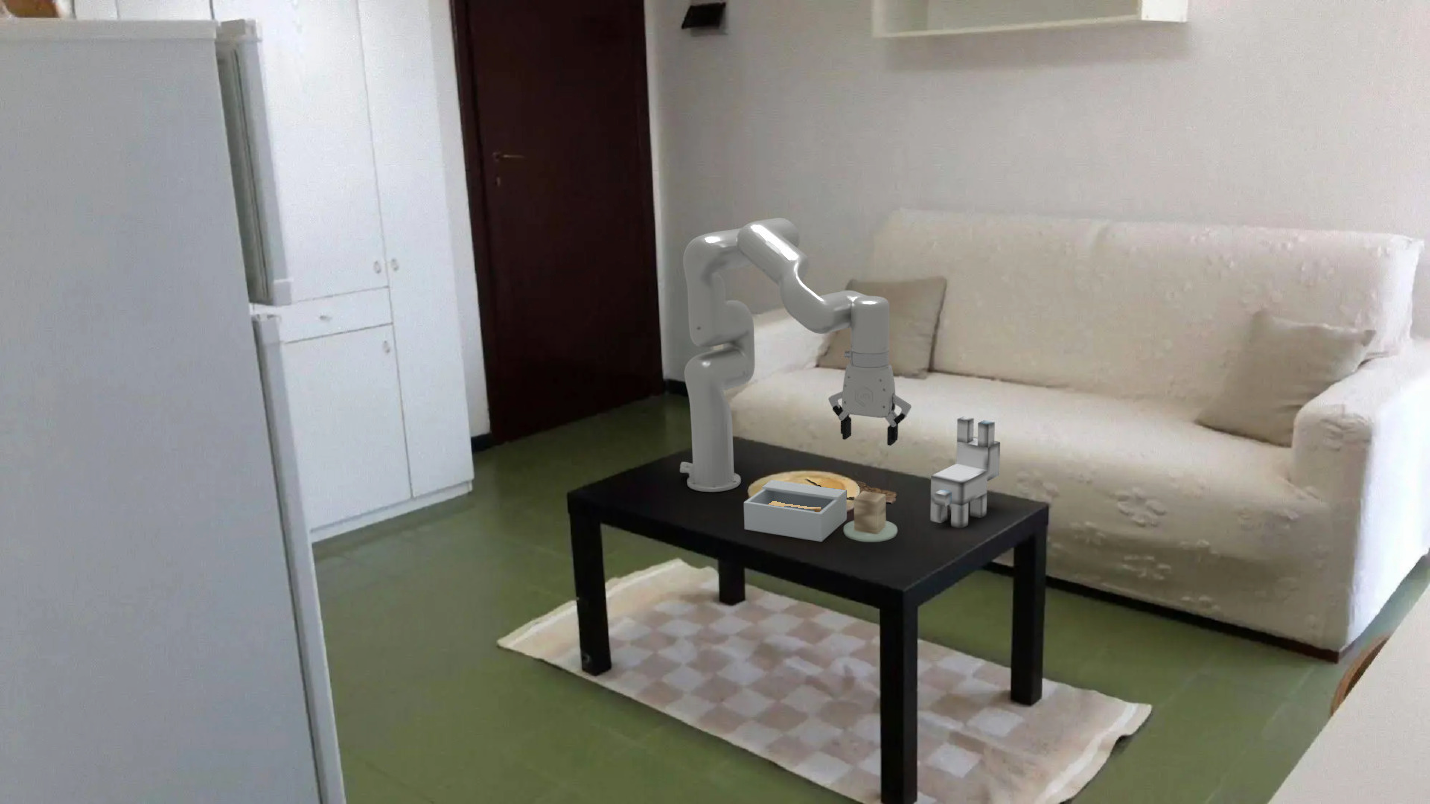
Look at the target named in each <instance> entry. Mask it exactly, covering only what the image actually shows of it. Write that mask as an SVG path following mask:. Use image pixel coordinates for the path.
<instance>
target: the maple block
mask: <svg viewBox="0 0 1430 804" xmlns="http://www.w3.org/2000/svg"><path fill="white" fill-rule="evenodd" d="M886 503H887V502H886V494H880V493H873V492H866V491H863V492H861V493H860V494H859V495H858V496H857V497H856V498H853V521H854V531H859V532H865V533H872V534H878V533H879V532H880V531H881V530H882V529H883V528H884V527H885V526H886V521H887V517H886V516H887V515H886V513H887V511H886V509H887V508H886V507H887V504H886Z"/></svg>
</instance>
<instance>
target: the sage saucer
mask: <svg viewBox="0 0 1430 804" xmlns="http://www.w3.org/2000/svg"><path fill="white" fill-rule="evenodd" d="M843 533H844V536H845V537H847V538H848V539H851V540H854V541H857V542H862V543H863V542H864V543H881V542H885V541H889V540H891V539H893V538H895V537H896V536H897V534H898V527H897V525H896V524H895V523H893V522H890V521H888V520H886V526H885V527H884V528H883V529H882V530H881V531H880V532H879V533H878V534H872V533H865V532H859V531H854V520H852V521H848V522H847V523H846V524H844V526H843Z"/></svg>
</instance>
